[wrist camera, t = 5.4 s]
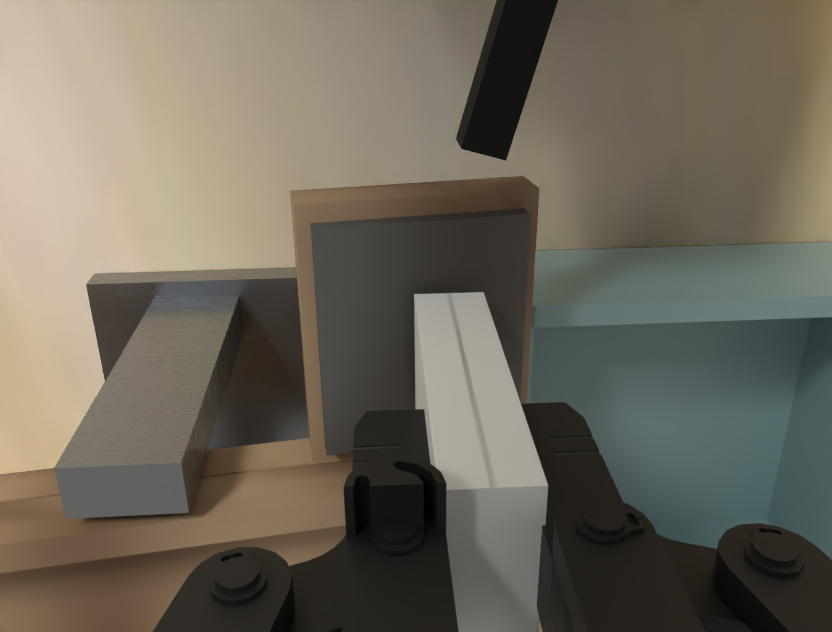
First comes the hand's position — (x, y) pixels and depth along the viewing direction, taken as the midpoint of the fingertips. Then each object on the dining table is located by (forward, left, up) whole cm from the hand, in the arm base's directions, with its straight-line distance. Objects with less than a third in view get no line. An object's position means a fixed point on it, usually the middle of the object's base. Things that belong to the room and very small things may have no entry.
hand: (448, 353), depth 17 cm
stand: (-7, -6, -7) cm, 11 cm away
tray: (+7, -6, -7) cm, 12 cm away
